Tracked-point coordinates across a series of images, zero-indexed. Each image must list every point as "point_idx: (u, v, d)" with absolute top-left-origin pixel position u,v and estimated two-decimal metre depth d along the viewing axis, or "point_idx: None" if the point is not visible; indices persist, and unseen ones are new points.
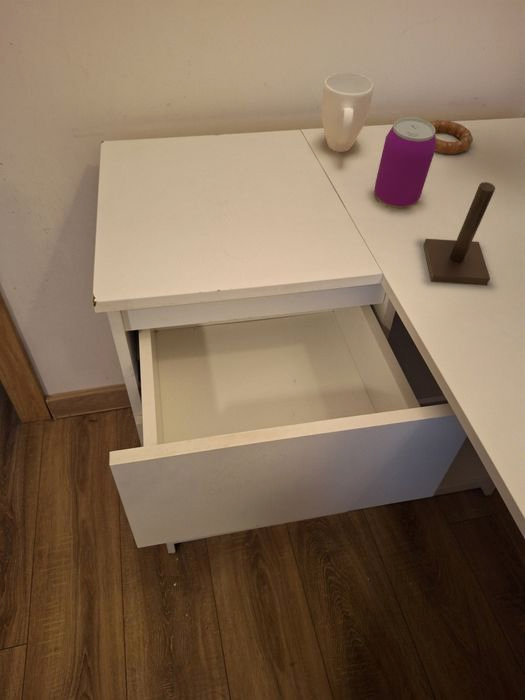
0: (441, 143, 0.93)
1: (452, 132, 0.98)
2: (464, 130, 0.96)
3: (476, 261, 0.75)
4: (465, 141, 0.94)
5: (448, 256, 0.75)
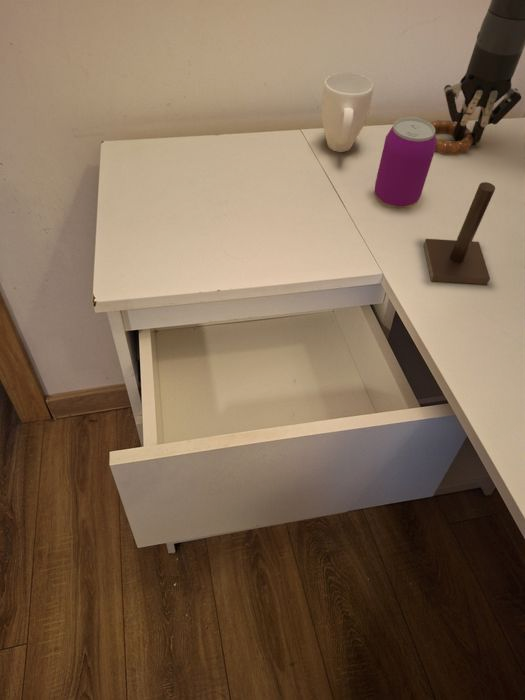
0: (442, 143, 0.93)
1: (453, 132, 0.98)
2: None
3: (476, 261, 0.75)
4: (466, 141, 0.94)
5: (448, 256, 0.75)
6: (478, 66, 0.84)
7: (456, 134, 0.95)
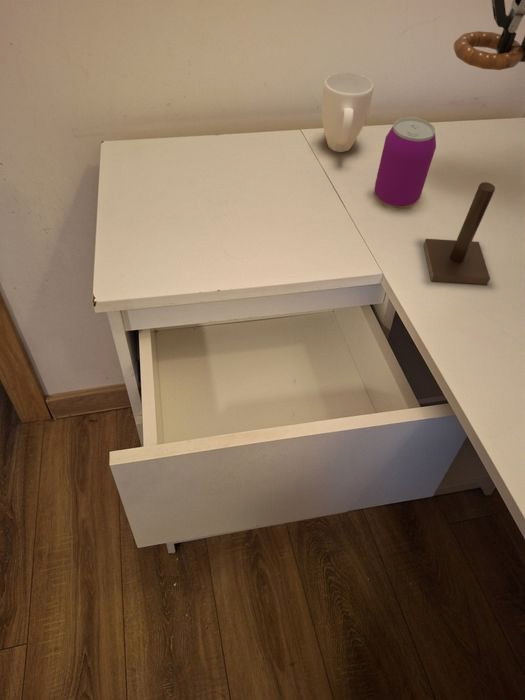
0: (483, 55, 0.72)
1: (496, 47, 0.77)
2: None
3: (476, 261, 0.75)
4: (515, 53, 0.72)
5: (448, 256, 0.75)
6: None
7: (501, 46, 0.74)
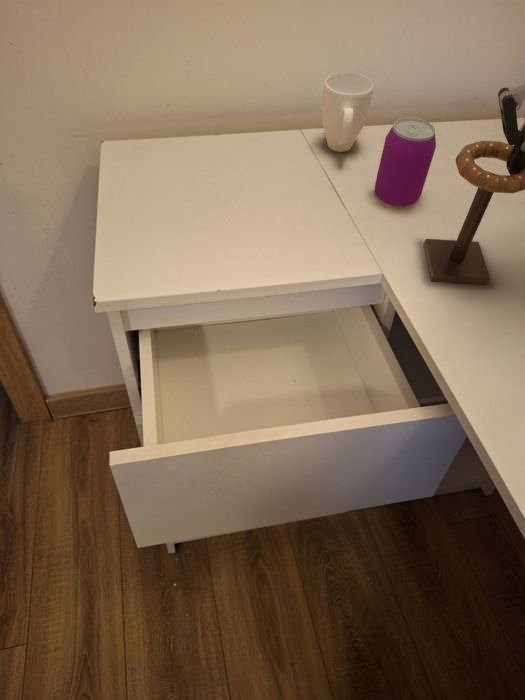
0: (492, 178, 0.60)
1: (505, 159, 0.65)
2: None
3: (476, 261, 0.75)
4: None
5: (448, 256, 0.75)
6: None
7: (512, 163, 0.62)
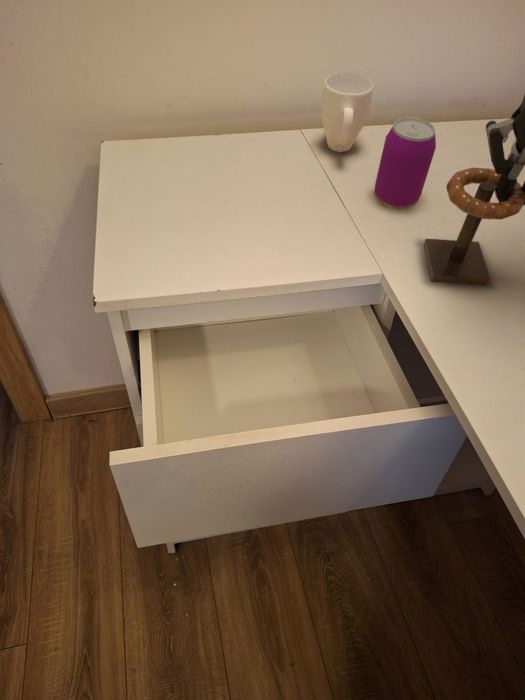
0: (481, 205, 0.63)
1: (494, 185, 0.68)
2: None
3: (476, 261, 0.75)
4: (516, 202, 0.64)
5: (448, 256, 0.75)
6: None
7: (500, 190, 0.65)
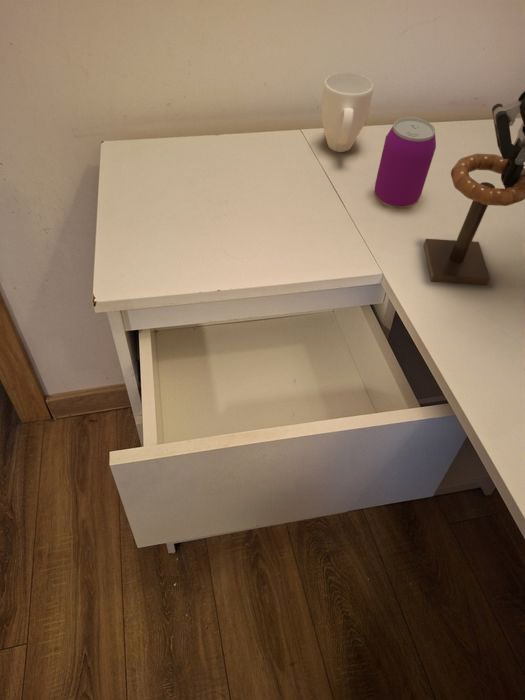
0: (486, 191, 0.62)
1: (499, 171, 0.66)
2: None
3: (476, 261, 0.75)
4: (522, 188, 0.62)
5: (448, 256, 0.75)
6: None
7: (507, 176, 0.64)
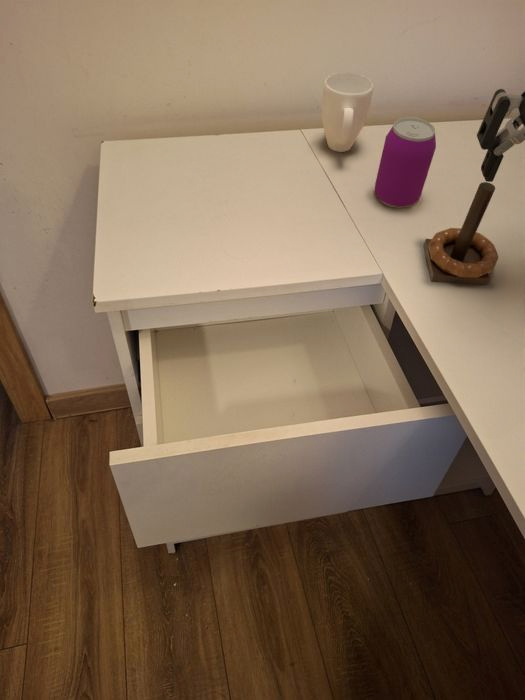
0: (458, 266, 0.71)
1: None
2: (486, 244, 0.74)
3: (476, 261, 0.75)
4: (489, 262, 0.72)
5: None
6: None
7: (486, 167, 0.63)
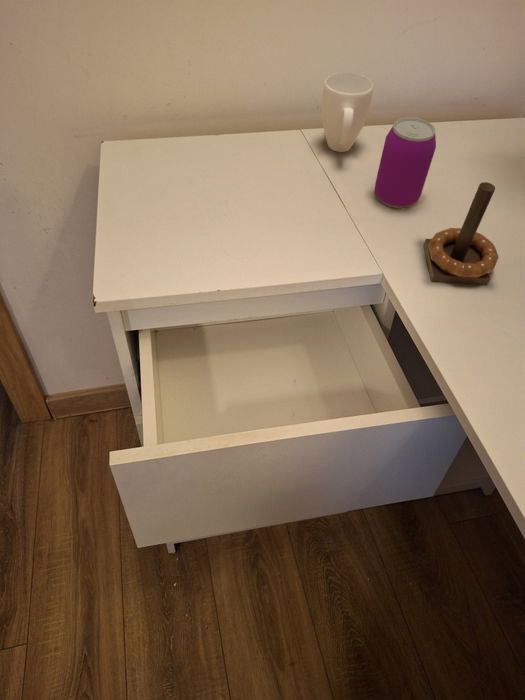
0: (458, 266, 0.71)
1: None
2: (486, 244, 0.74)
3: (476, 261, 0.75)
4: (489, 262, 0.72)
5: None
6: None
7: None
